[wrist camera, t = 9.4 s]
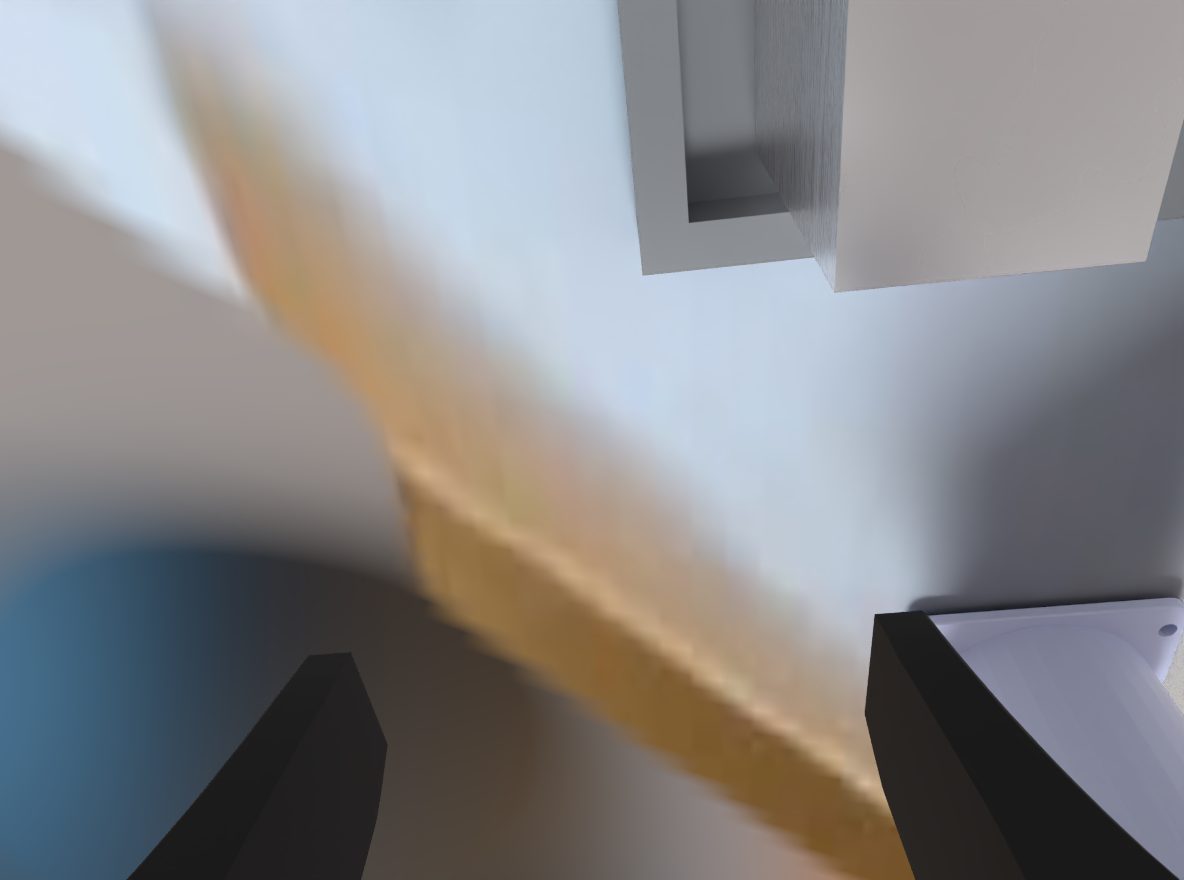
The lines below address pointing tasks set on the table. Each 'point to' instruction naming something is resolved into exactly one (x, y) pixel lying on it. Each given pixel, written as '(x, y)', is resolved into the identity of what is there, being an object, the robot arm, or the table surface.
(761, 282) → the table surface
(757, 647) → the table surface
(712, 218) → the pallet
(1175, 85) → the block
